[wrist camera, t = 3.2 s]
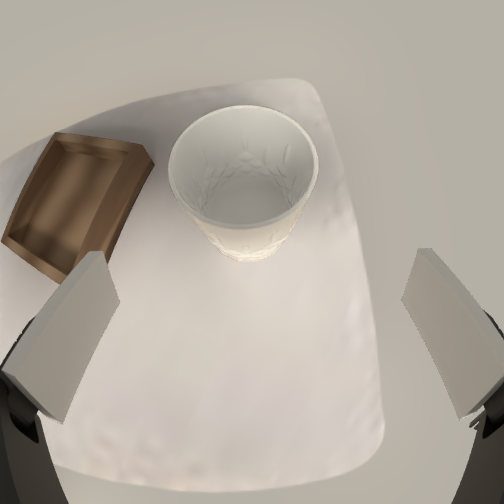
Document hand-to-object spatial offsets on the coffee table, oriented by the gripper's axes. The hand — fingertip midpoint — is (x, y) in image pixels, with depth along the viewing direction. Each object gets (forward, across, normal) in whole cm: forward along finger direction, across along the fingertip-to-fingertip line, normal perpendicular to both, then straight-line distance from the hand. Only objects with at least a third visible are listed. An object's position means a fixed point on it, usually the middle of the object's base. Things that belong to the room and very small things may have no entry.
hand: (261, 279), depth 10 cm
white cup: (+13, -1, -4) cm, 13 cm away
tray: (+14, -19, -2) cm, 24 cm away
